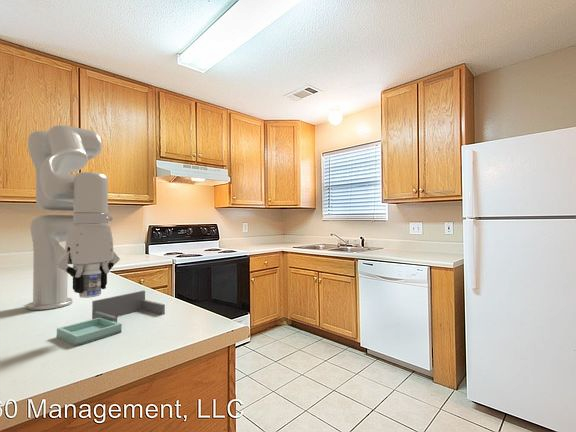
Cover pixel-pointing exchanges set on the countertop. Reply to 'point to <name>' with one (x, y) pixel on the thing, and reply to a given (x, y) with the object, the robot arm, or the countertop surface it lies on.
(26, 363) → the countertop surface
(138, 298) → the bay
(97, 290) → the pill bottle
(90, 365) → the countertop surface
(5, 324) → the countertop surface
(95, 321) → the tray
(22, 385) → the countertop surface
